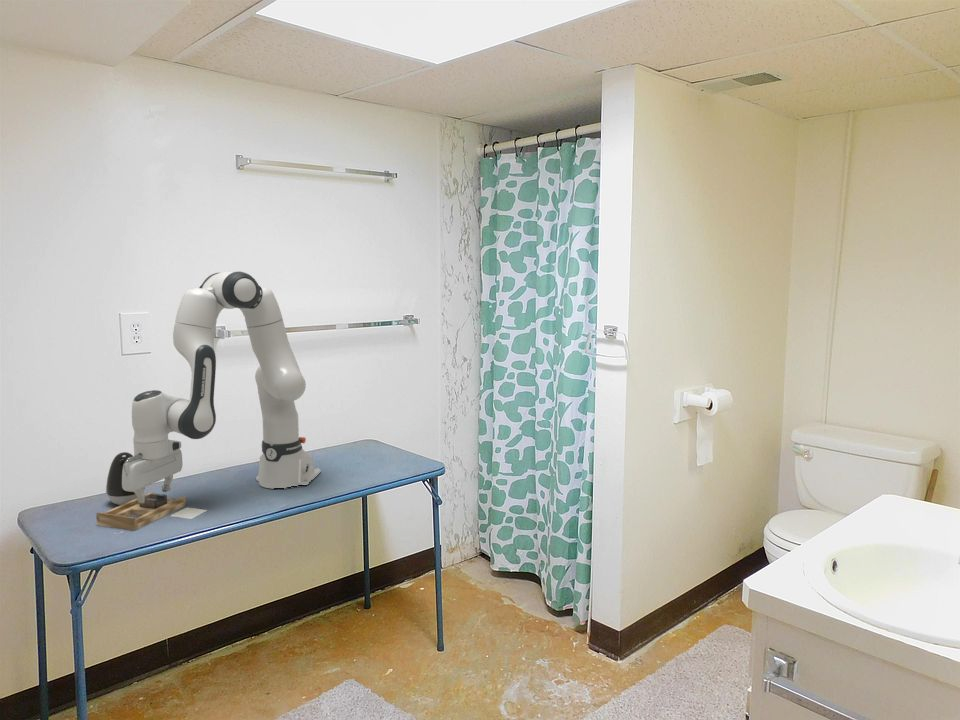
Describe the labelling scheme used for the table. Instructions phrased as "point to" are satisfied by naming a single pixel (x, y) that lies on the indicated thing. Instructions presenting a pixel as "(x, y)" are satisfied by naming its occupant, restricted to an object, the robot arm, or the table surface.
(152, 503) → the clip
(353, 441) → the table surface
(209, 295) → the robot arm
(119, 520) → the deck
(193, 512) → the white square plate
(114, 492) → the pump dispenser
